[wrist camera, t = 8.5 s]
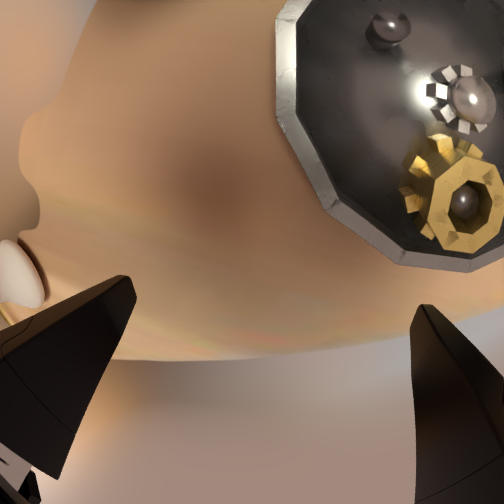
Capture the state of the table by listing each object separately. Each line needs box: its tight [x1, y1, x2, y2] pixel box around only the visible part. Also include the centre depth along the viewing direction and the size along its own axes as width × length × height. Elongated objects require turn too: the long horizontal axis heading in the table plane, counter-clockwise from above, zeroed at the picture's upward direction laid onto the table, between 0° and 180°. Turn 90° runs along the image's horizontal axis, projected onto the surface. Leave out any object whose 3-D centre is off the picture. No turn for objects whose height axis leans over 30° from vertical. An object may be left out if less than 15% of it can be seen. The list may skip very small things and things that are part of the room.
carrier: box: [276, 0, 504, 273], centre depth 11 cm, size 21×21×4 cm
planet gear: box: [398, 134, 504, 253], centre depth 12 cm, size 6×6×4 cm
